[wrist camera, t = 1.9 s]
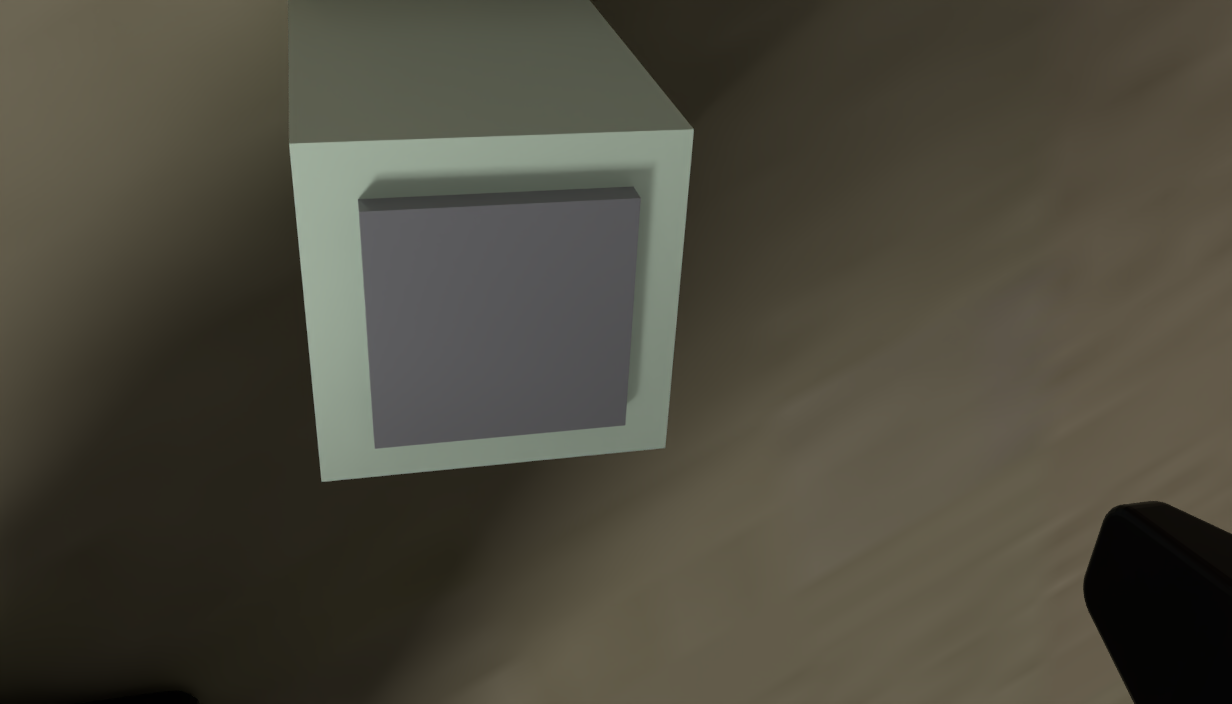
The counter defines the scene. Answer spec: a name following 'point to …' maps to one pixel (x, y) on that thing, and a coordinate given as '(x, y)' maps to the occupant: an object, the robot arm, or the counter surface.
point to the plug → (482, 232)
